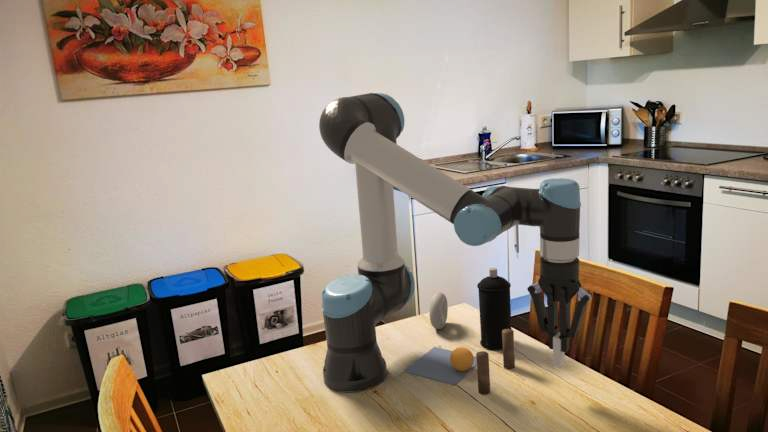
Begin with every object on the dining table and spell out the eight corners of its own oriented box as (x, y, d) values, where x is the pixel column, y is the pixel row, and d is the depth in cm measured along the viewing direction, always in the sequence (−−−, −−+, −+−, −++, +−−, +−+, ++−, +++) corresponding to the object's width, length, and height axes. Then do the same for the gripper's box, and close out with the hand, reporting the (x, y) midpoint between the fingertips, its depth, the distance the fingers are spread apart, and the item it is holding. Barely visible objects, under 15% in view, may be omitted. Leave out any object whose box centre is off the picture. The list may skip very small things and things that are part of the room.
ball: (467, 357, 137) (465, 378, 139) (478, 347, 141) (477, 368, 143) (446, 349, 140) (445, 370, 142) (458, 340, 145) (456, 360, 146)
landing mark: (403, 371, 144) (403, 370, 144) (434, 347, 155) (434, 346, 155) (454, 385, 136) (454, 384, 136) (483, 359, 147) (483, 358, 146)
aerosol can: (499, 353, 148) (496, 276, 144) (473, 344, 154) (469, 270, 150) (519, 342, 154) (517, 267, 149) (493, 333, 160) (490, 261, 155)
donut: (441, 335, 161) (439, 300, 159) (429, 335, 162) (426, 300, 160) (450, 320, 170) (447, 286, 168) (438, 319, 171) (435, 286, 169)
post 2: (501, 367, 142) (500, 332, 139) (506, 363, 144) (505, 328, 141) (512, 370, 140) (510, 334, 138) (516, 365, 142) (515, 330, 140)
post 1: (476, 393, 132) (474, 355, 130) (481, 387, 134) (479, 350, 132) (486, 396, 130) (485, 357, 128) (492, 390, 132) (490, 352, 130)
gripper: (598, 255, 120) (595, 363, 126) (535, 247, 128) (536, 349, 133) (585, 267, 114) (583, 379, 120) (521, 257, 122) (522, 364, 128)
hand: (558, 363), depth 127 cm, fingers closed
